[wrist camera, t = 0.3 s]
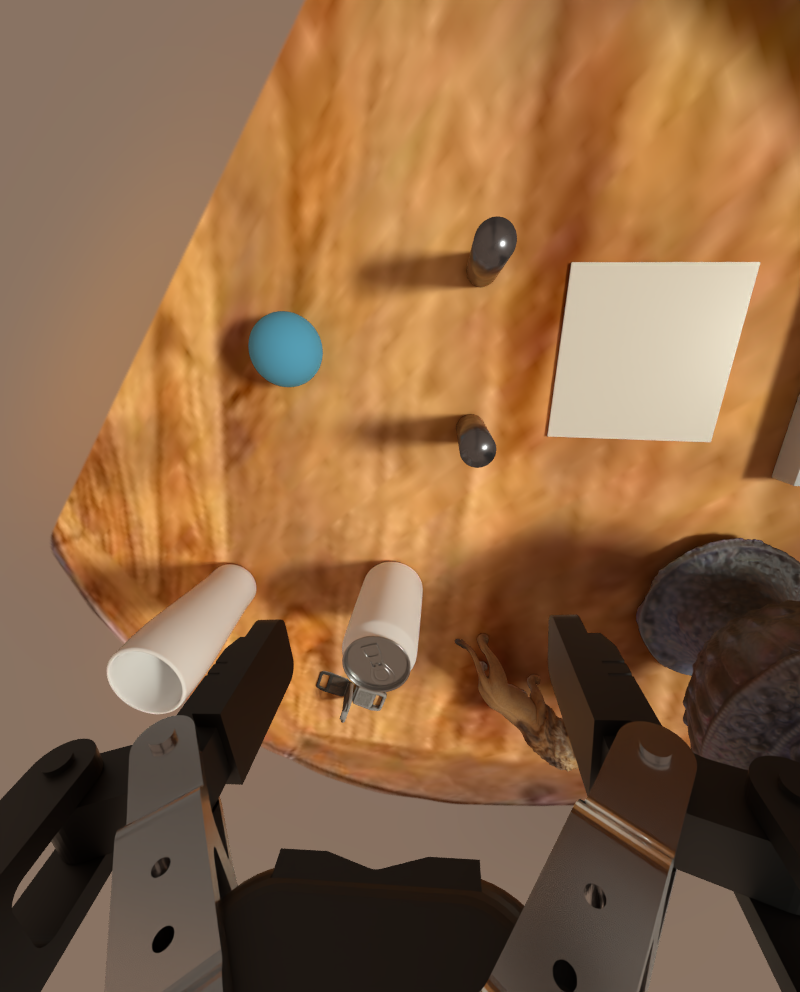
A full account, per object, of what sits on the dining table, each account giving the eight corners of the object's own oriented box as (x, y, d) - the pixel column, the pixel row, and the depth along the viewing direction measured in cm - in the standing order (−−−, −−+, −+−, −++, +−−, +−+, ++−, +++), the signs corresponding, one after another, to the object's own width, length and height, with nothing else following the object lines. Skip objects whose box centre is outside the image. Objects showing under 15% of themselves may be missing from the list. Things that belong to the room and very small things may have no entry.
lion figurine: (575, 685, 46) (604, 760, 38) (544, 714, 48) (566, 791, 40) (468, 621, 45) (473, 683, 36) (440, 652, 47) (440, 719, 38)
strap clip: (388, 689, 50) (383, 718, 46) (381, 707, 51) (376, 737, 47) (322, 667, 50) (311, 694, 46) (316, 685, 51) (305, 713, 47)
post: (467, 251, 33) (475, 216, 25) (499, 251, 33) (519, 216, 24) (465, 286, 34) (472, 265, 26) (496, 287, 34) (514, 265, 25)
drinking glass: (236, 545, 45) (140, 633, 31) (276, 590, 46) (203, 694, 32) (195, 575, 47) (87, 671, 32) (235, 617, 48) (149, 727, 34)
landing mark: (571, 262, 33) (571, 262, 33) (758, 262, 31) (760, 262, 31) (547, 435, 37) (547, 436, 37) (709, 441, 36) (710, 442, 36)
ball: (263, 314, 36) (230, 307, 31) (329, 314, 36) (307, 307, 30) (269, 383, 38) (239, 389, 33) (331, 385, 38) (312, 391, 32)
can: (376, 617, 46) (355, 703, 35) (355, 568, 44) (324, 642, 33) (431, 603, 45) (427, 687, 33) (411, 552, 43) (399, 623, 32)
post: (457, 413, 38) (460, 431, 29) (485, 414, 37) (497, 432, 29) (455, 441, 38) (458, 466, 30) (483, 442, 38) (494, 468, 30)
